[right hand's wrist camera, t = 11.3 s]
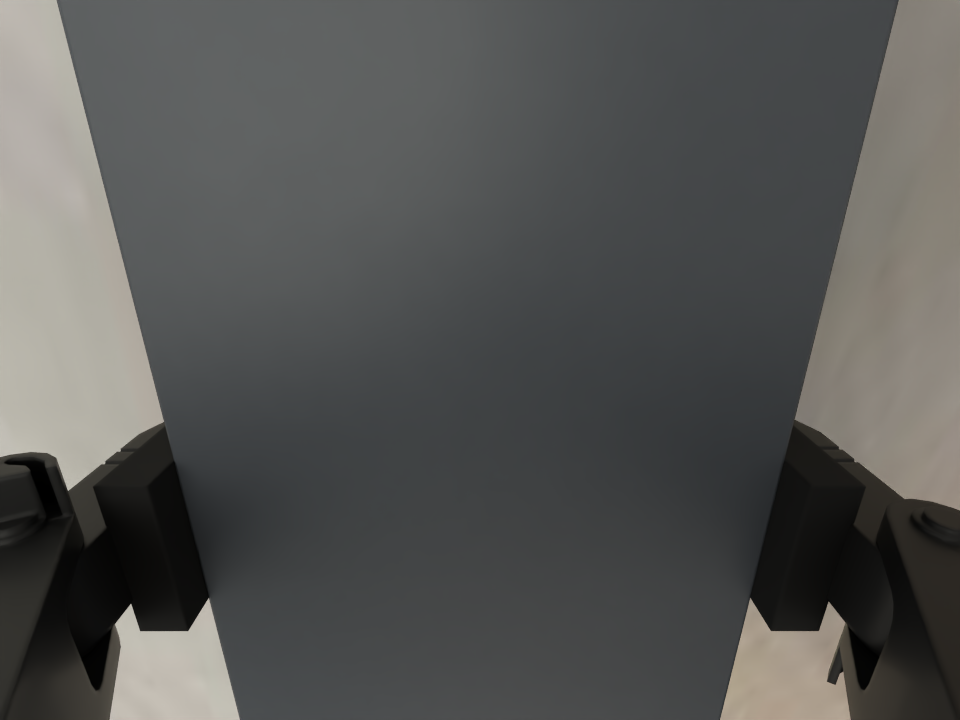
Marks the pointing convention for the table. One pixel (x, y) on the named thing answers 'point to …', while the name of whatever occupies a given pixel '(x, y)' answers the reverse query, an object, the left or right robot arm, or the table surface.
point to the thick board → (478, 327)
